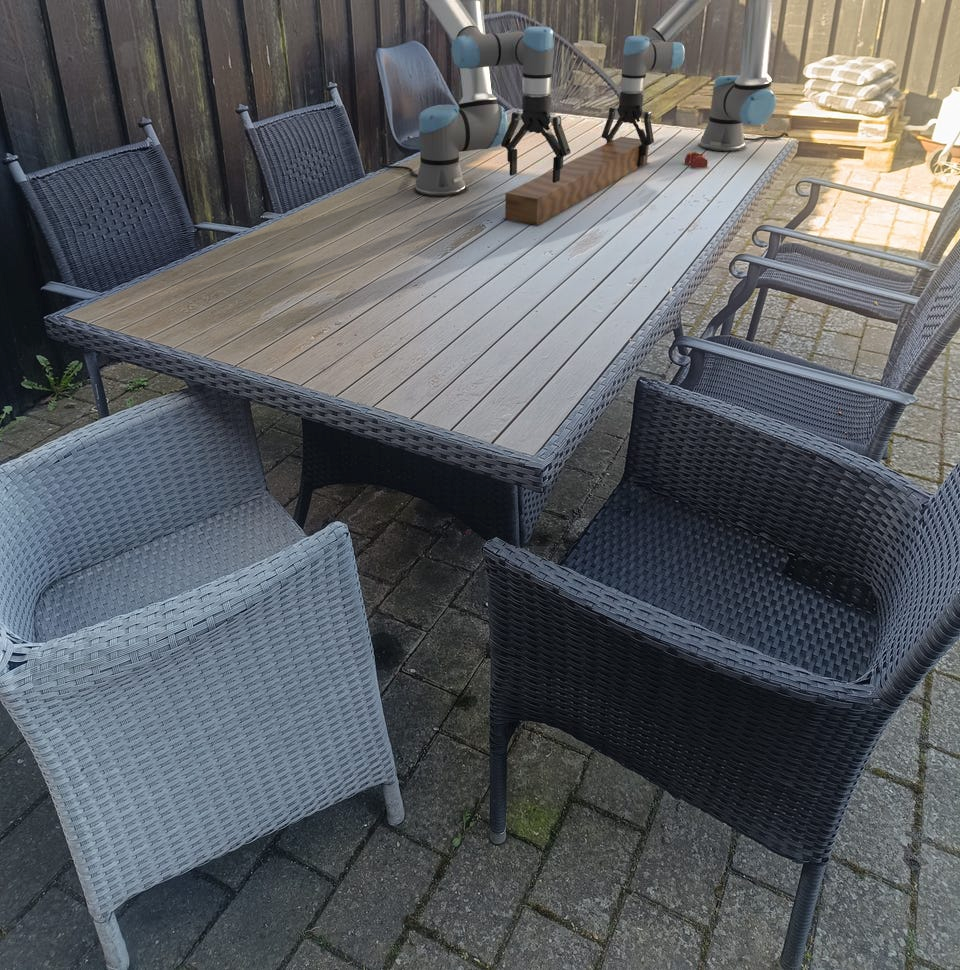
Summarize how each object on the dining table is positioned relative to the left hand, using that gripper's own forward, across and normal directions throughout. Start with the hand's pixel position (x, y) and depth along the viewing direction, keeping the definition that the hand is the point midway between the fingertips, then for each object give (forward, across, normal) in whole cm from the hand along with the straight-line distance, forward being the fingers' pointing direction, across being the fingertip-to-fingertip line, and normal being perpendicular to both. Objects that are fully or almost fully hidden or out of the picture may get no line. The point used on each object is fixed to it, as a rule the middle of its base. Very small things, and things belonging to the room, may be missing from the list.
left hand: (534, 178), depth 232 cm
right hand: (+9, 0, -62) cm, 63 cm away
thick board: (+10, 0, -31) cm, 33 cm away
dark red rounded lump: (+10, -20, -74) cm, 78 cm away
